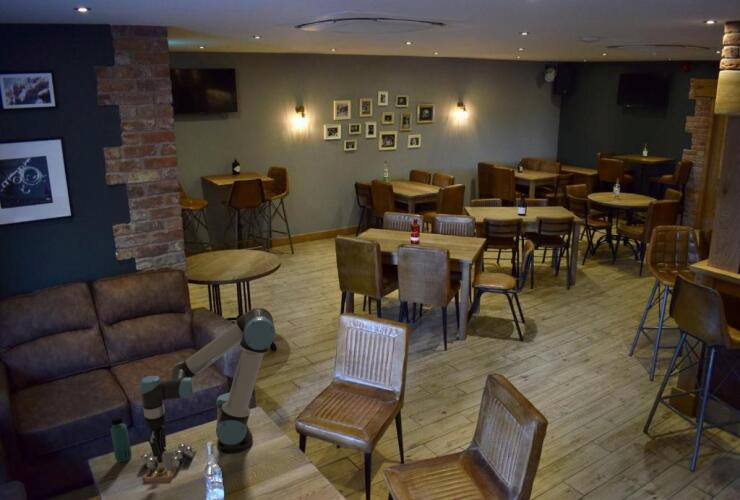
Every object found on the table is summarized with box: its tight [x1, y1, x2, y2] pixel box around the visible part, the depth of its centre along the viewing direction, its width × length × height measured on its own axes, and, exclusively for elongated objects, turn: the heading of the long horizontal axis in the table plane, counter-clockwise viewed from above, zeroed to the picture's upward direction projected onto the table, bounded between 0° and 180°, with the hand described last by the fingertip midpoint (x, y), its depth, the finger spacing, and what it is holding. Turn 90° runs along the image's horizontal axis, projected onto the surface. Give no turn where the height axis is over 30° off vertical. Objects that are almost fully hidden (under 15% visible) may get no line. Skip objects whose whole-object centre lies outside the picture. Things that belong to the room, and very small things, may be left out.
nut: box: [154, 468, 168, 477], centre depth 231 cm, size 4×5×3 cm
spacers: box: [140, 443, 194, 473], centre depth 238 cm, size 19×12×5 cm, turn 91°
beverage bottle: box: [110, 415, 132, 463], centre depth 241 cm, size 6×7×20 cm
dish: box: [142, 467, 177, 483], centre depth 230 cm, size 11×6×3 cm, turn 91°
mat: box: [138, 450, 198, 473], centre depth 240 cm, size 20×13×1 cm, turn 91°
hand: (162, 467), depth 233 cm, fingers closed
